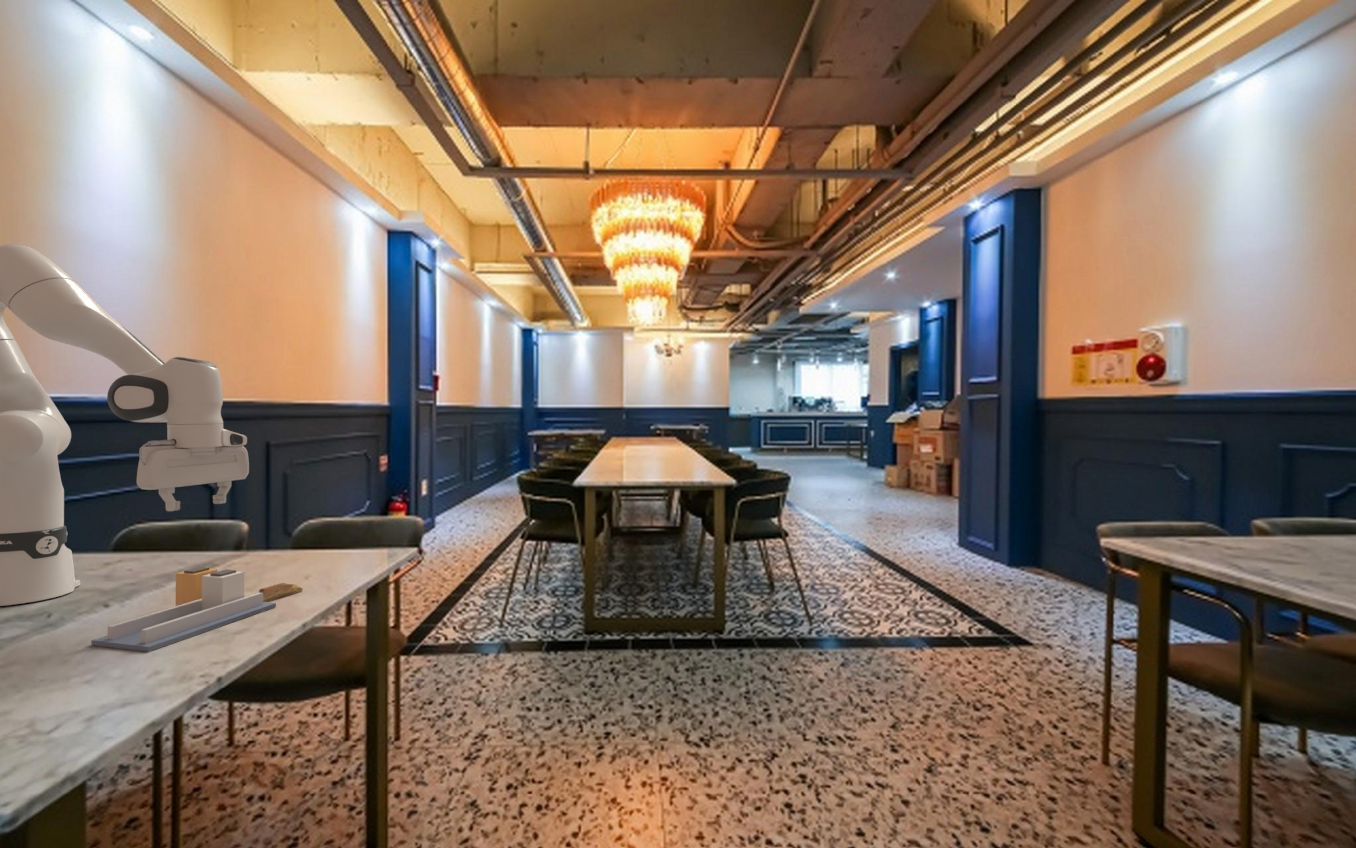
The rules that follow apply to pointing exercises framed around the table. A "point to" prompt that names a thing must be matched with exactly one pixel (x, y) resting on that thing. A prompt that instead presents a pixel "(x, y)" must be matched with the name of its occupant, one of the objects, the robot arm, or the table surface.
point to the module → (190, 584)
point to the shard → (279, 591)
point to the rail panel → (188, 615)
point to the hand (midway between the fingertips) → (197, 507)
